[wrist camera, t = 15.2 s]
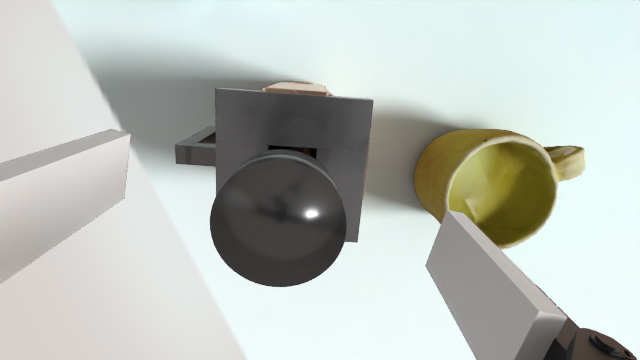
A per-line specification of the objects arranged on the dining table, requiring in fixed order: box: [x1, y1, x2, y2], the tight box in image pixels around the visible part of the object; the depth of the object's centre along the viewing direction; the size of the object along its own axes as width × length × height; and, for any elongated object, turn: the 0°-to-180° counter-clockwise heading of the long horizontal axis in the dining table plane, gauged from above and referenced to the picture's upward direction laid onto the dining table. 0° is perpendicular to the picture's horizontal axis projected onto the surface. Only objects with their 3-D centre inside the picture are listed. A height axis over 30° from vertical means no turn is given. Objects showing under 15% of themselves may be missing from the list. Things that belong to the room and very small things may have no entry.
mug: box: [414, 129, 585, 250], centre depth 31 cm, size 12×10×10 cm
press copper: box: [175, 82, 373, 242], centre depth 27 cm, size 12×9×13 cm
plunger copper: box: [210, 145, 347, 287], centre depth 22 cm, size 6×6×18 cm
